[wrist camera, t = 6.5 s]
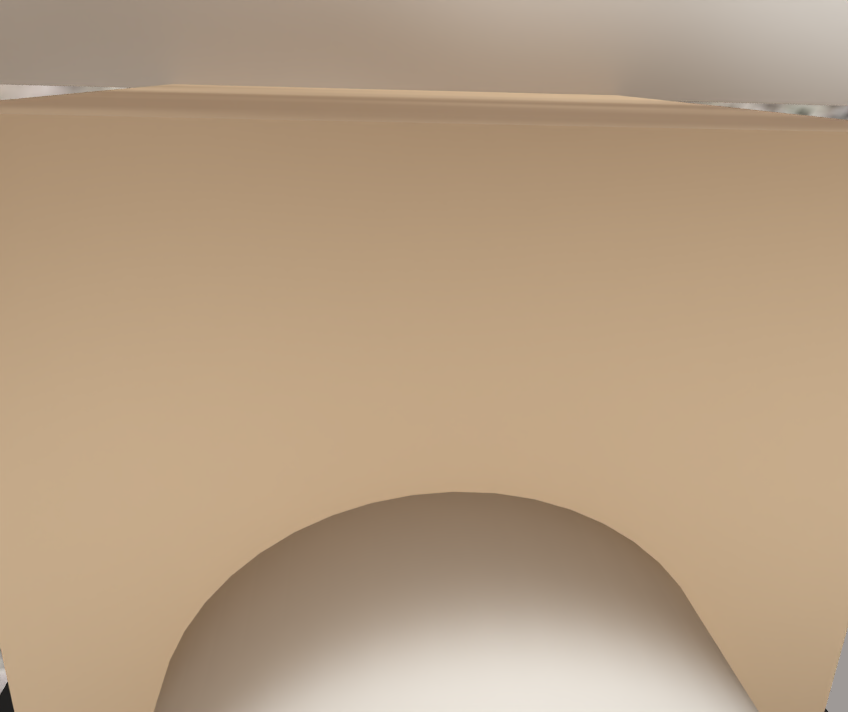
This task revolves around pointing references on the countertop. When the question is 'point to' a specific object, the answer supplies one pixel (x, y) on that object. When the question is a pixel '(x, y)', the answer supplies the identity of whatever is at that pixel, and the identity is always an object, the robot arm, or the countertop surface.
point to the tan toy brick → (420, 402)
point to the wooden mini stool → (441, 46)
